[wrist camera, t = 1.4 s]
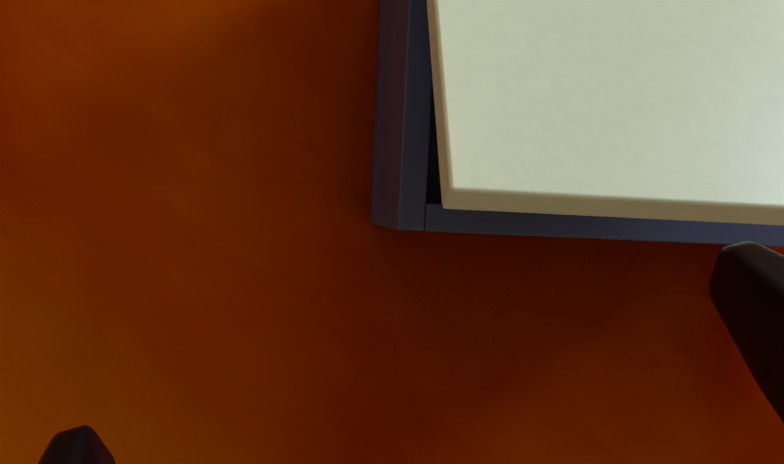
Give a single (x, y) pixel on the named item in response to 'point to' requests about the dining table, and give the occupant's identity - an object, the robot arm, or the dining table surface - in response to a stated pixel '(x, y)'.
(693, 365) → the dining table surface
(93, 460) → the robot arm
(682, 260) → the dining table surface
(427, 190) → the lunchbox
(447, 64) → the lunchbox lid
